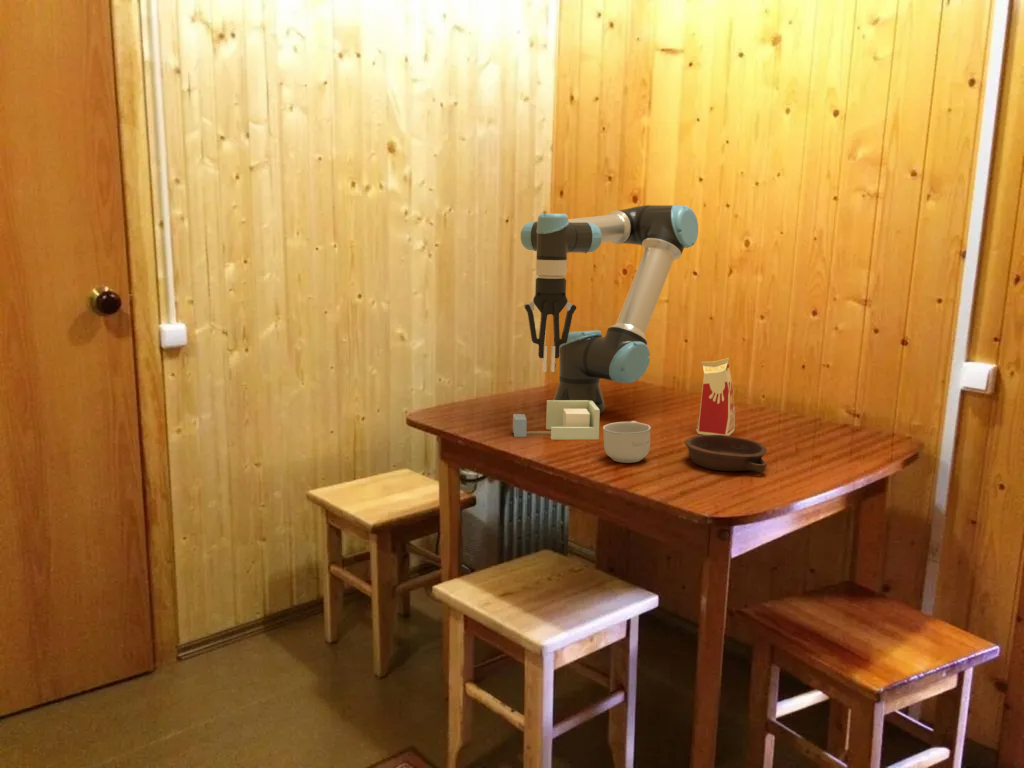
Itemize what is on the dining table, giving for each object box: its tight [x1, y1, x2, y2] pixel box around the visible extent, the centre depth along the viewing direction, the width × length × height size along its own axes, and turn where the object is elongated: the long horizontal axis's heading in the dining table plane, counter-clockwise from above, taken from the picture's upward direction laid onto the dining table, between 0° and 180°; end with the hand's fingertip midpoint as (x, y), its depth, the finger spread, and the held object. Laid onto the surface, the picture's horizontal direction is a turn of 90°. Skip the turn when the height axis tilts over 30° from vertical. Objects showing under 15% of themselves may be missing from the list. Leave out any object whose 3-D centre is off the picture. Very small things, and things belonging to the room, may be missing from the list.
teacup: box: [602, 420, 652, 464], centre depth 187 cm, size 14×11×8 cm
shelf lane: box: [545, 399, 601, 441], centre depth 207 cm, size 12×11×8 cm
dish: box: [684, 434, 768, 473], centre depth 184 cm, size 18×22×5 cm
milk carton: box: [695, 357, 736, 436], centre depth 211 cm, size 9×9×20 cm
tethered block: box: [512, 409, 590, 438], centre depth 207 cm, size 19×6×6 cm, turn 94°
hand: (548, 370), depth 204 cm, fingers closed
